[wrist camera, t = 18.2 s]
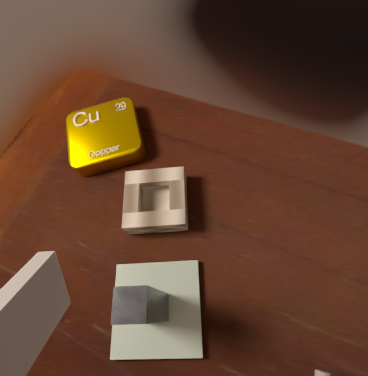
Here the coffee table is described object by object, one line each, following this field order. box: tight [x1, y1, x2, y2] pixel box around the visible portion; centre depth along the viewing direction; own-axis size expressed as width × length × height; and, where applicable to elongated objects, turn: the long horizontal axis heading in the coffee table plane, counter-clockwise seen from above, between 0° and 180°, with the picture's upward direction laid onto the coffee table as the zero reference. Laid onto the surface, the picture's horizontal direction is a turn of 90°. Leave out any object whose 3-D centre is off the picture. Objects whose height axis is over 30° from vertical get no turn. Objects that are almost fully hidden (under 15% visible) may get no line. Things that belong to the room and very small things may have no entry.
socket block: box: [122, 166, 188, 234], centre depth 50 cm, size 11×11×4 cm
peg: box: [111, 285, 169, 325], centre depth 37 cm, size 4×4×14 cm
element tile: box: [66, 97, 146, 177], centre depth 58 cm, size 15×15×5 cm
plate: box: [110, 260, 203, 360], centre depth 44 cm, size 14×14×1 cm
